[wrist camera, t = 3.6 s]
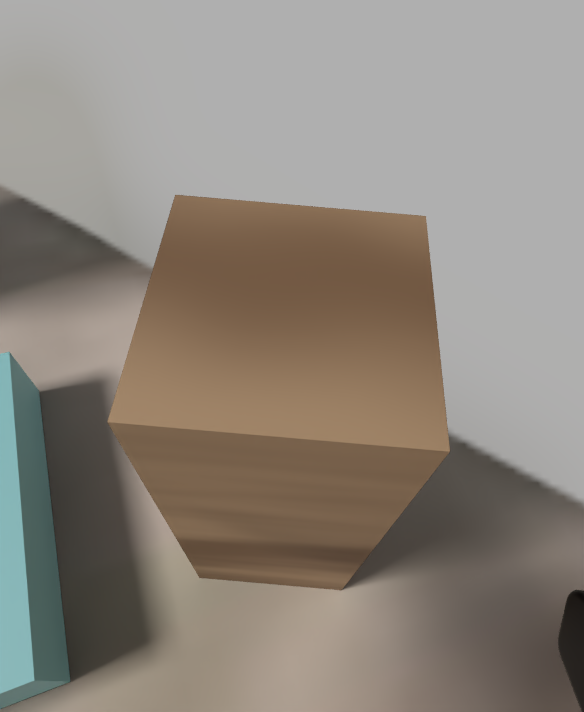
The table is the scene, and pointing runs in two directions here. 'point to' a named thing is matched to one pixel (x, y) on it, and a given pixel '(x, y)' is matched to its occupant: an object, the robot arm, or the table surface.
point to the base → (27, 548)
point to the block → (284, 386)
